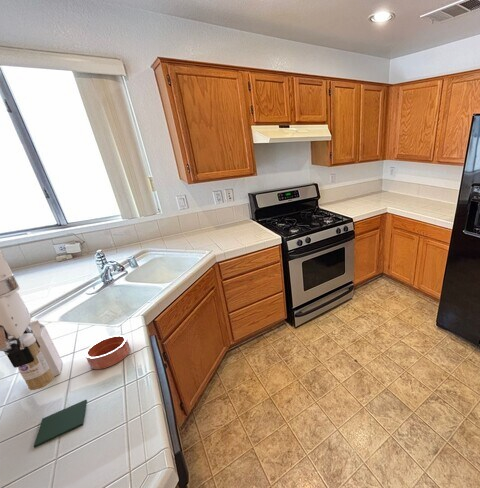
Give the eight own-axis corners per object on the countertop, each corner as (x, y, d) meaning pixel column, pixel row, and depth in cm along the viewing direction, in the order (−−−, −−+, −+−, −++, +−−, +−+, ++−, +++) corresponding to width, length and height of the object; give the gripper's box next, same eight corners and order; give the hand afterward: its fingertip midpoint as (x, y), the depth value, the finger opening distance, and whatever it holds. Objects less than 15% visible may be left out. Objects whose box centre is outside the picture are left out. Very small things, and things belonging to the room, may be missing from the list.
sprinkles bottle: (25, 394, 62) (-2, 348, 57) (34, 380, 65) (10, 336, 61) (51, 386, 64) (26, 340, 59) (58, 373, 67) (36, 329, 63)
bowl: (88, 376, 83) (83, 363, 82) (92, 356, 92) (87, 344, 90) (131, 359, 90) (126, 347, 88) (130, 342, 98) (126, 331, 97)
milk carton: (33, 373, 86) (6, 325, 80) (62, 362, 90) (39, 315, 84) (29, 386, 81) (0, 336, 74) (60, 374, 85) (35, 325, 79)
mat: (34, 448, 63) (33, 446, 63) (43, 420, 70) (42, 418, 70) (83, 424, 68) (82, 423, 67) (87, 400, 75) (86, 399, 74)
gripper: (-19, 281, 60) (16, 345, 66) (-59, 313, 47) (-10, 389, 53) (27, 271, 64) (56, 332, 70) (2, 298, 51) (41, 371, 57)
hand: (27, 356), depth 62 cm, fingers closed on sprinkles bottle, 4 cm apart
